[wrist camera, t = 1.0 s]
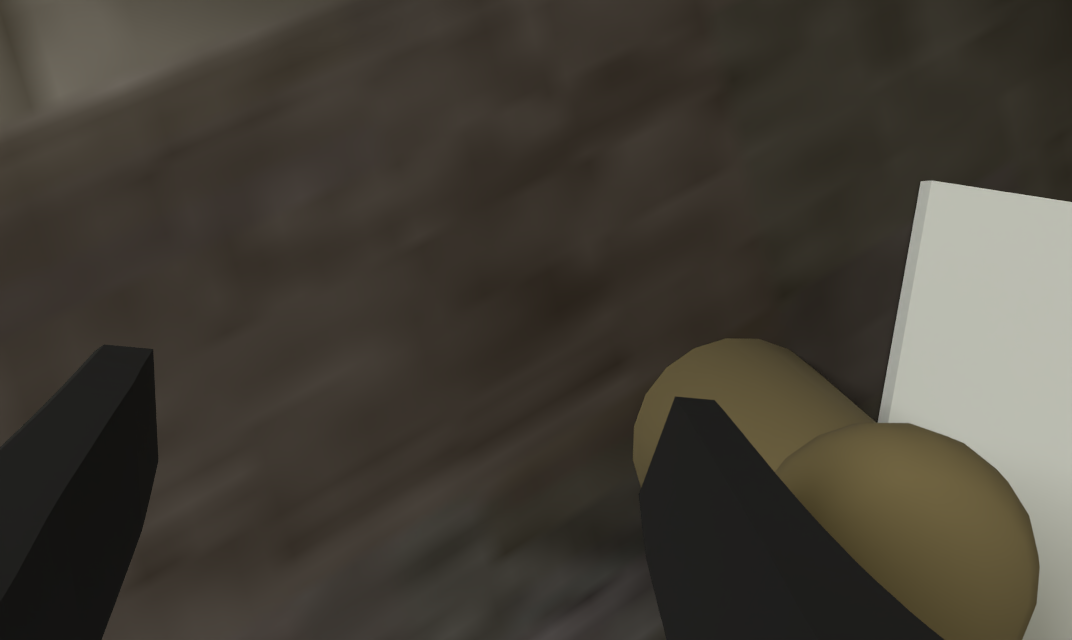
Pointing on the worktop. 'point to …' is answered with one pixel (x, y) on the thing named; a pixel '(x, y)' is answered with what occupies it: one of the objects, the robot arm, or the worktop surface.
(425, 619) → the worktop surface
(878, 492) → the cork
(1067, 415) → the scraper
